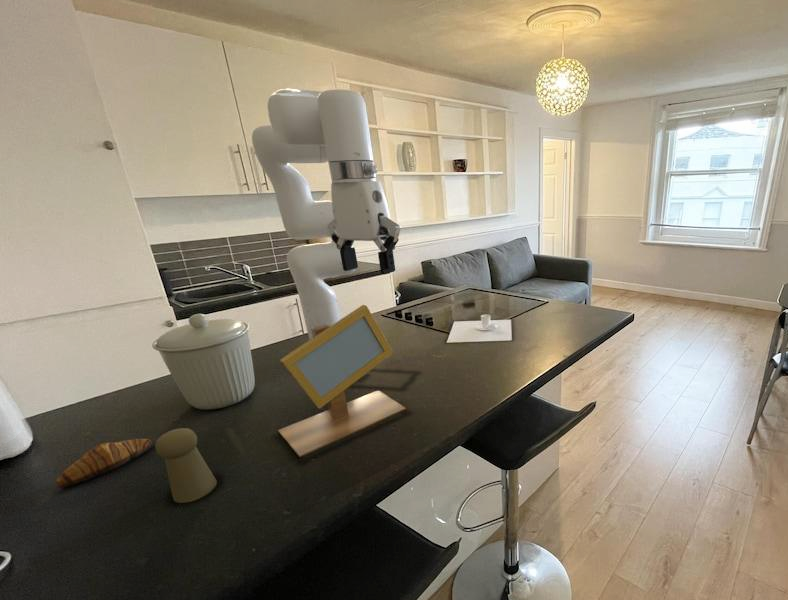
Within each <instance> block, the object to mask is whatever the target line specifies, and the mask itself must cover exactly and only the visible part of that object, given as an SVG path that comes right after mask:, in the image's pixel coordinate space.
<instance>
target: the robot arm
mask: <svg viewBox="0 0 788 600" xmlns="http://www.w3.org/2000/svg"><path fill="white" fill-rule="evenodd" d="M267 113H268V118H269V122H270V124H267V125H266V124H265V125H261V126H258V127H256V128H254V129H253V131H252V134H251V142H252V147H253V151H254V153H255V156H256V158H257V161H258V163H259V165H260V166H261V168H262V170H263V172H264V173H265V175H266V177H267V178H268V180H269V182H270V183H271V185H272V187H273V191H274V195H275V199H276V203H277V206H278V211H279V214H280V217H281V220H282V224H283V228H284V231H285V232H286V235H287V236H288V237H289V238H291V239H293V240H296V241H297V240H298V241H303V240H314V239H323V238H330V239H331V241H329V242H318V243H310V244H302V245H297V246H295V247H293V248H291V249H290V250H289V251H288V252H287V254H286V263H287V266H288V269H289V271H290V274H291V276H292V279H293V281H294V284H295V287H296V290H297V294H298V297H299V302H300V305H301V306H300V307H301V310H302V315H303V319H304V323H305V327H306V332H307V337H308V341H309V340H311V339H312V338H313V335H312V331H311V328H314V327H317V326H321V325H325V324H327V325H329V326H332V325H333V324H335V323H336V322H338V321H339V320H341V319H342V316H341V312H340V305H339V302H338V296H337V293H336V291H335V290H334V289H333V287H331V286H330V285H329V284H327V283H326V282H325V281H324V280H327V279H329V278H335V277H341V276H348V275H351V274H354V272H355V271H356V270H357V269H358V268H359V265H358V257H357V253H356V249H355V247H354V242H355V241H357V242H358V241H359V242H361V241H362V242H365V241H366V242H372V241H373V243H374V244H375V245H376V247H377V248H378V249H379V251H378V252H377V255H378V256H377V257H378V262H379V269H380V273H381V274H382V275H387V274H391V273H394V272H396V264H395V258H394V250H395V249H396V245H397V244H398V242H399V236H400V233H401V228H402V227H401V226H400V225H399V224H398V223H397V222H395V221H394V220H392V219H391V215H390V211H389V207H388V201H387V198H386V195H385V191H384V188H383V185H382V182H381V181H380V180H377V173H378V167H377V165H376V164H375V160H374V153H373V152H374V151H373V146H372V139H371V133H370V132H371V131H370V126H369V117H368V111H367V104H366V101H365V99H364V97H363V96H362V94H361V93H359V92H356V91H354V90H350V89H328V90H323V91H318V90H308V89H306V90H305V89H296V88H295V89H294V88H280V89H277V90H275V91H274V92H273V93H271V95H269V97H268V99H267ZM325 163H328V168H329V174H330V179H331V183H330V185H331V186H330V189H331V190H330V191H331V192H330V193H331V194H330V195H331V200H314V198H313V196H312V191H311V187H310V184H309V182H308V180H307V179H306V177H305V176H304V175H303V174H302V173H301V172H300V171H298V169H296V168H295V167H294V166H293V165H291V164H325Z"/></svg>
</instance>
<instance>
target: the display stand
mask: <svg viewBox="0 0 788 600" xmlns="http://www.w3.org/2000/svg"><path fill="white" fill-rule="evenodd" d="M329 327H330V326H329V325H327V324H325V325H321V326H317V327H314V328H311V331H312V335H313V338H314V337H315V336H317V335H318V334H320V333H321V332H323V331H324V330H326V329H327V328H329ZM327 406H328V410H325V411H323V412H320V413H318V414H315V415H312V416H309V417H308V418H305V419H302V420H300V421H297V422H294V423H292V424H290V425H287V426H285V427H282V428H280V429H278V430H277V432H278V434H279V435H280V436H281V437H282V438H283V439H284V441H285V442H286V443H287V445H289V446H290V448H291V449H292V450H293V451H294V452H295V454H296V455H297V456H298V458H302V457H305V456H307V455H308V454H311V453H313V452H315V451H318V450H319V449H323V448H324V447H327V446H329V445H331V444H333V443H335V442H338V441H340V440H342V439H344V438H347V437H349V436H351V435H353V434H356V433H357V432H360V431H361V430H364V429H366V428H368V427H371V426H373V425H375V424H377V423H379V422H382V421H384V420H387V419H389V418H391V417H393V416H395V415H398V414H399V413H402V412H404V411H406V410H407V407H405V406H404V405H402V404H400V403H399V402H397V401H396V400H395V399H393V398H391V397H390V396H388V395H387V394H385V393H384V392H382V391H380V390H376V391H373V392H370V393H368V394H365V395H363V396H360V397H358V398H354V399H352V400H350V401H348V402H347V399H346V394H345V390H344V391H342V392H341V393H340V394H339V395H337V396H336V397H335V398H333V399H332V400H331V401H329V402H328V403H327Z"/></svg>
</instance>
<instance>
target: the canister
mask: <svg viewBox="0 0 788 600" xmlns="http://www.w3.org/2000/svg"><path fill="white" fill-rule="evenodd" d="M250 328H251V326H250V324H249V323H247V322H244V321H240V320H237V319H231V318H219V319H217V318H216V319H211V320H210V319H209V318H208V316H207V315H205V314H203V313H195V314H192V315H191V316H190V317H189V318H188V324H185V325H181V326H177V327H175V328H172V329H170V330H167V331H166V332H165V333H163V334H161V335H160V336H159V337H158V338H157V339H156V340H154V341H153V342H152V344H151V347H152V348H153V349H154V350H155V351H158V353H159V354H160V356H161V358H162V360H163V362H164V364H165V365H166V367H167V369H168V371H169V373H170V376H171V377H172V379H173V380H174V382H175V384H176V386H177V387H178V389H179V390H180V392H181V394H182V396H183V397H184V399H185V401H186V402H187V403H188V404H189V405H190V406H191V407H193V408H195V409H197V410H202V411H204V410H206V411H209V410H218V409H222V408H226V407H229V406H232V405H235V404H238V403H239V402H242V401H243V400H245V399H246V398H248V397H249V396H250V395H251V394H252V392H253V391H254V389H255V385H256V383H255V380H256V379H255V371H254V363H253V362H254V361H253V355H252V349H251V344H250V338H249V331H250Z"/></svg>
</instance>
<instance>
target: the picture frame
mask: <svg viewBox="0 0 788 600" xmlns="http://www.w3.org/2000/svg"><path fill="white" fill-rule="evenodd" d="M392 354H394V351H393V349H392V347H391V346H390V343H389V342H388V341H387V338H386V337H385V335H384V334H383V331H382V329H381V328H380V327H379V325H378V323H377V321H376V319H375V317H374V316H373V314H372V312H371V311H370V309H369V308H368V306H367V305H365V304H362V305H360V306H359V307H357V308H356V309H354V310H353V311H351V312H350V313H348V314H347V315H345V316H344V317H341V320H339V321H338V322H336V323H335V324H333V325H332V326H330V327H329V328H327V329H326V330H324V331H323V332H321V333H320V334H318V335H317V336H315V337H314V338H312V339H311V340H309V339H308V341H306V342H305V343H303V344H301V345H300V346H298V347H297V348H296V349H294V350H293V351H290V352H289V353H288V354H286V355H285V356H283V357H281V359H279V361H280V362H281V363H282V365H283V366H284V367H285V368H286V370H287V371H288V373H290V375H291V376H292V377H293V379H294V380H295V381H296V383H297V384H298V385H299V387H301V389H302V390H303V391H304V393H305V394H306V395H307V396H308V397H309V400H310V401H312V403H313V404H314V405H315V406H316V407H317V409H318V410H320V409H322V408H323V407H324V406H326V405H328V402H329V401H331V400H332V399H333V398H335V397H336V396H337V395H339V394H340V393H341V392H342V391H344V392H345V390H347V389H348V388H349V387H350V386H352V385H354V383H356V382H357V381H358V380H359V379H361V378H362V377H363V376H365V375H366V374H368V373H369V372H370V371H371V370H373V369H374V368H375V367H377V366H378V365H379V364H381V363H382V362H383V361H385V360H386V359H387V358H388V357H390V356H391V355H392Z"/></svg>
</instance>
